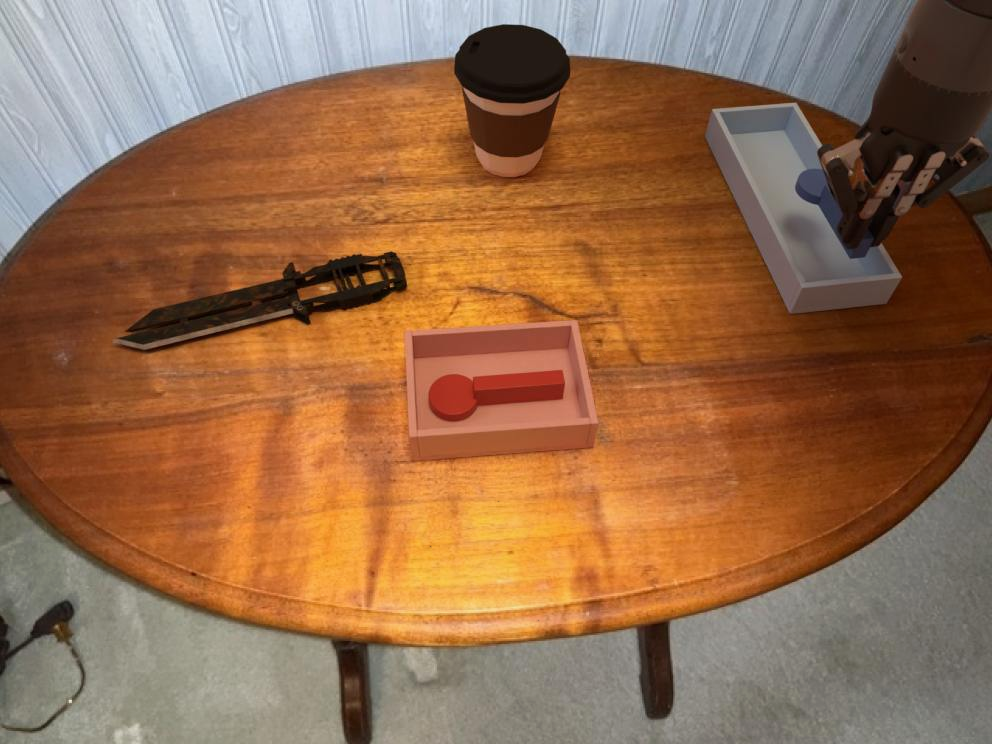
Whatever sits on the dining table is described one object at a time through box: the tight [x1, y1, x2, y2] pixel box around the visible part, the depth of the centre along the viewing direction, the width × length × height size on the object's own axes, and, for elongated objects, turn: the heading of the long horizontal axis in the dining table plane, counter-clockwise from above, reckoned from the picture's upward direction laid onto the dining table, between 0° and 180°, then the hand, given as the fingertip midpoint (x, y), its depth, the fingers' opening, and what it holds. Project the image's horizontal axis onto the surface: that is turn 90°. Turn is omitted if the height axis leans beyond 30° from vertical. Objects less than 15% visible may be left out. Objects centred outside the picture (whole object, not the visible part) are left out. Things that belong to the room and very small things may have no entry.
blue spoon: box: [795, 169, 874, 259], centre depth 72 cm, size 11×4×2 cm, turn 9°
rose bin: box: [404, 319, 600, 462], centre depth 65 cm, size 14×10×4 cm
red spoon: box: [429, 370, 565, 421], centre depth 65 cm, size 11×4×2 cm, turn 96°
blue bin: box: [704, 102, 903, 315], centre depth 79 cm, size 25×9×4 cm, turn 9°
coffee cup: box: [453, 23, 571, 178], centre depth 80 cm, size 11×11×12 cm
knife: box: [111, 251, 408, 351], centre depth 72 cm, size 25×6×1 cm, turn 105°
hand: (858, 240), depth 69 cm, fingers closed on blue spoon, 1 cm apart
